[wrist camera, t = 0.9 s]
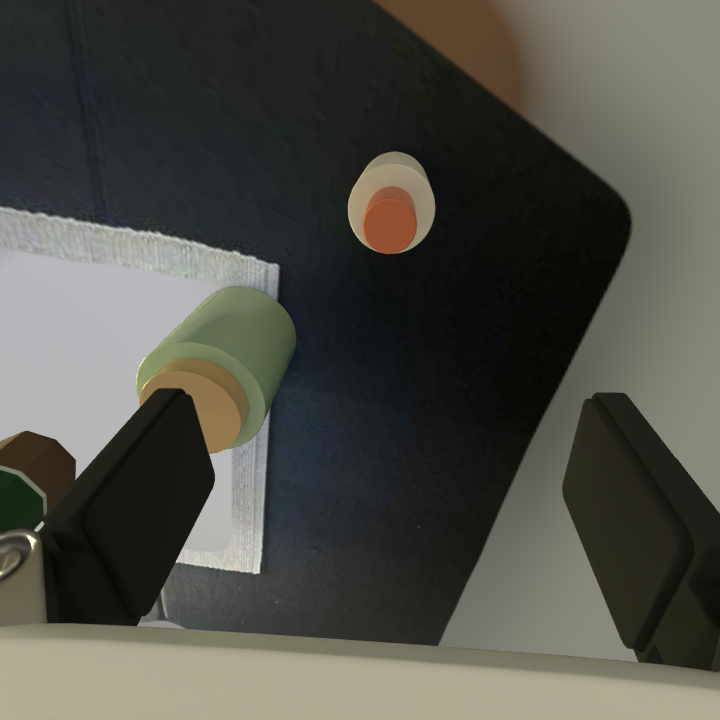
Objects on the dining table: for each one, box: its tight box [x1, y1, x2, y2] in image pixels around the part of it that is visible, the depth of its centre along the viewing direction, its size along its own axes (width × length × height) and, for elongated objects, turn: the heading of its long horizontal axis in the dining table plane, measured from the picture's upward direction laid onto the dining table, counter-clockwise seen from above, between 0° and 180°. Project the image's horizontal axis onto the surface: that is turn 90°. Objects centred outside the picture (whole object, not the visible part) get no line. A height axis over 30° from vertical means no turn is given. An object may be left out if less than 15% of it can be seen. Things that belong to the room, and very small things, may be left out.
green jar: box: [136, 287, 296, 454], centre depth 30 cm, size 8×8×10 cm
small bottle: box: [348, 152, 435, 254], centre depth 23 cm, size 4×4×10 cm
